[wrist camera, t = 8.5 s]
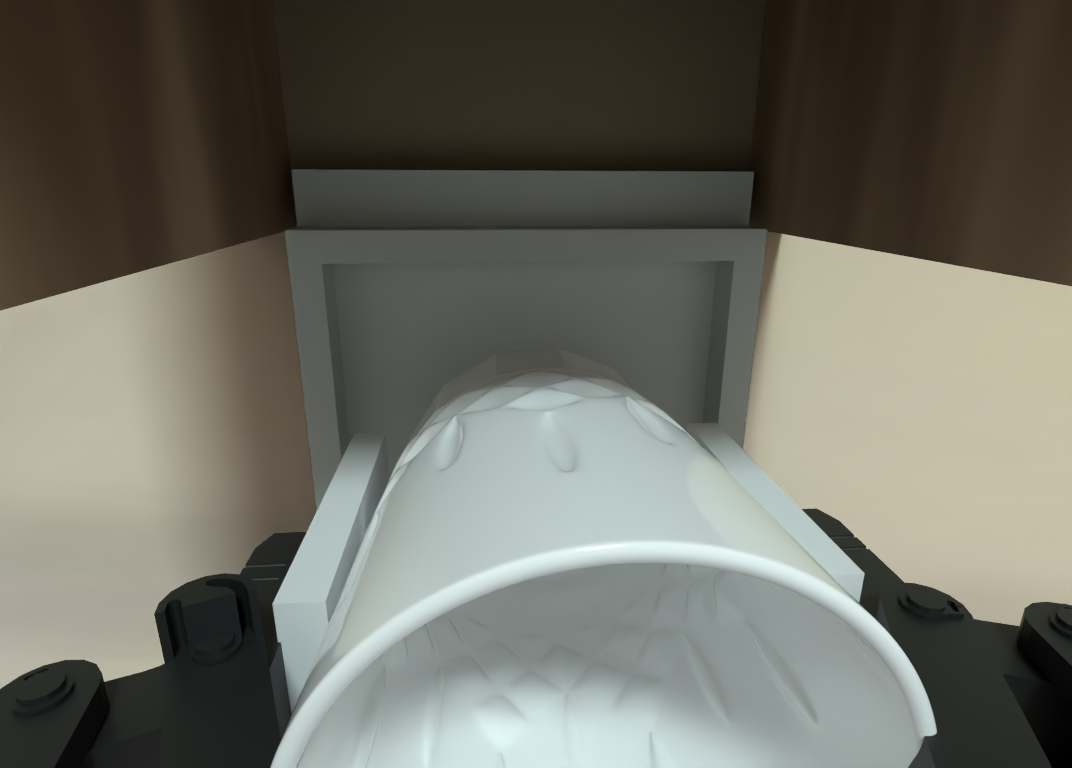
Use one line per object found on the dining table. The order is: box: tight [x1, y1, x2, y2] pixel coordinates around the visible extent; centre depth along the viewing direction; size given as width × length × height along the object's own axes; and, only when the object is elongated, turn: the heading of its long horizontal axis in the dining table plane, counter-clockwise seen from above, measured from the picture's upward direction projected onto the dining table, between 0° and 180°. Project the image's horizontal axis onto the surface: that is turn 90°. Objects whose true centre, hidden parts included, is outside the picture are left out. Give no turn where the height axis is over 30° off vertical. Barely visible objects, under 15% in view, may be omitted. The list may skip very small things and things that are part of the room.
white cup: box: [270, 347, 937, 768], centre depth 12 cm, size 8×8×10 cm
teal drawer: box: [284, 169, 768, 510], centre depth 17 cm, size 14×13×5 cm
